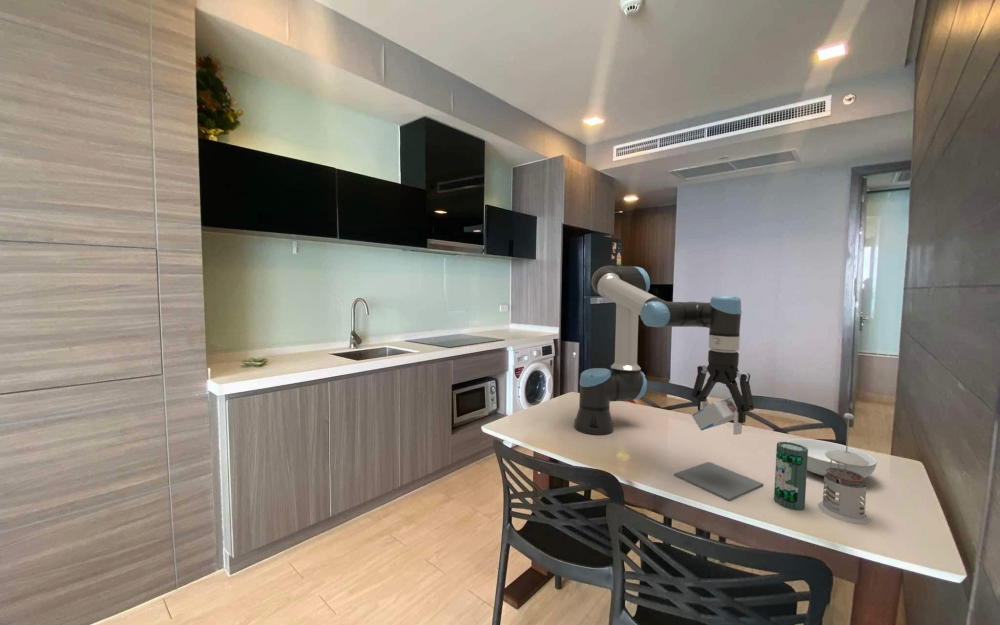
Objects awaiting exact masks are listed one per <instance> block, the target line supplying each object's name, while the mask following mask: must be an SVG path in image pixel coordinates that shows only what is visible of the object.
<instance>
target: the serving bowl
mask: <svg viewBox="0 0 1000 625" xmlns="http://www.w3.org/2000/svg"><path fill="white" fill-rule="evenodd" d="M786 442H791V443H796V444H798V445H802V446H804V447H806V448H807V449H808V458H807V472H808V471H809V472H811V473H812V474H813V473H814V474H816V475H818V476H822V477H824V475H825V474H826V473H827V471H826V469H828V468H830V461H831V459H829V458H828V457H826V455H825V453H826V452H828V451H834V450H841V451H846V445H844V444H841V443H836V442H831V441H826V440H819V439H812V438H809V439H808V438H792V439H788V440H786ZM847 451H848V452H851V453H854V454H857V455H859V456H860V457H862V458H863V459H865V460H866V461H868V463H869V465H868V466H866V467H853V466H848V465H846V470H848V471H852V472H855V473H857V474H859V475H861V476H863V477H864V478H865V479H866V478H867V477H869V476H871V475H872V474H873V473H874V472H875V470H876V467H877V464H878V463H877V462H878V461H877V460H876V457H874V456H872V455H870V454H869V453H866V452H865V451H862V450H861V449H858V448H853V447H850V446H848V448H847ZM833 467H834V468H838V463H836V462H835V461H833V460H832V463H831V468H833ZM839 468H840V469H845V465H844V464H839ZM836 480H839V479H838V478H836Z"/></svg>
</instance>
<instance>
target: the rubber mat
mask: <svg viewBox="0 0 1000 625" xmlns="http://www.w3.org/2000/svg"><path fill="white" fill-rule="evenodd" d="M674 477H677V478H679V479H680V480H683V481H685V482H687V483H688V484H689V483H690V484H692V485H693V486H695V487H698V488H699V489H702V490H704V491H706V492H708V493H710V494H713V495H715V496H717V497H719V498H721V499H723V500H725V501H727V502H730V501H732V500H735V499H737V498H739V497H742V496H744V495H747V494H748V493H751V492H753V491H755V490H757V489H759V488H762V487H764V483H763V482H760V481H759V480H758V481H757V480H756V479H753V478H750V477H747V476H745V475H743V474H740V473H738V472H735V471H733V470H731V469H728V468H725V467H722V466H720V465H717V464H715V463H713V462H711V461H707V462H704V463H700V464H697V465H695V466H692V467H689V468H686V469H684V470H680V471H677V472H674Z"/></svg>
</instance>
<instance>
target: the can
mask: <svg viewBox="0 0 1000 625" xmlns="http://www.w3.org/2000/svg"><path fill="white" fill-rule="evenodd" d="M775 452H776V454H775V456H776V458H775V472H774V474H775V475H774V489H773V491H774V493H773V500H774V502H775V503H776V504H778V505H779V506H781V507H784V508H787V509H790V510H794V511H803V510H805V507H806V506H805V505H806V489H807V476H808V474H807V473H808V470H807V458H808V449H807V448H806V447H804V446H802V445H798V444H796V443H791V442H787V441H778V442H777V443H776V450H775Z"/></svg>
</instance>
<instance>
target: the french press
mask: <svg viewBox="0 0 1000 625" xmlns="http://www.w3.org/2000/svg"><path fill="white" fill-rule="evenodd" d="M843 418H845V419H847V430H846V445H845V446H846V451H841V450H834V451H828V452H826V453H825V455H826V457H828V458H829V459H831V461H830V468H828V469H826V471H827V473H826V474H825V475H824V476H823V494H822V501H820V502H819V503H817V508H818V509H819V510H821V512H822V513H824V514H826V515H828V516H830V517H832V518H835V519H837V520H838V521H842V522H846V523H851V524H856V525H857V524H858V525H866V524H869V523H870V522H871V519H870V517H869V516H868V515H867V513H866V502H867V501H866V498H867V484H866V482H865V481H866V478H864V477H863V476H861V475H859V474H857V473H855V472H852V471H848V470H846V465H848V466H853V467H866V466H868V465H869V463H868V461H866V460H865V459H863V458H862V457H860V456H859V455H857V454H854V453H851V452H848V451H847V448H848V447H849V446H848V445H849V429H850V428H849V427H850V420H855V416H854V414H852V413H849V412H845V413H844V414H843ZM832 460H833V461H835V462H836V463H838V468H834V467H833V468H831V463H832ZM839 464H844V465H845V469H840V468H839ZM836 478H838V479H836ZM837 480H838V482H839V483H837ZM854 485H858V486H854ZM859 486H862V487H859ZM836 493H838V494H836ZM836 498H837V499H836Z"/></svg>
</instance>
